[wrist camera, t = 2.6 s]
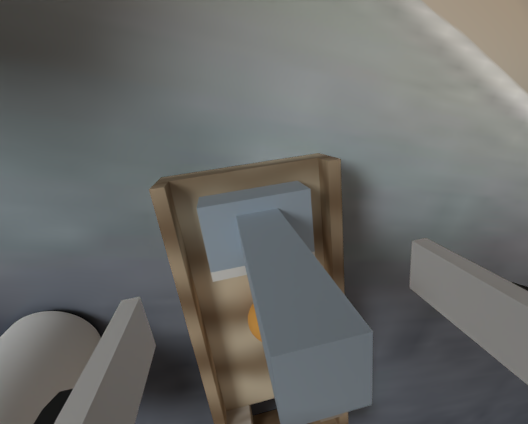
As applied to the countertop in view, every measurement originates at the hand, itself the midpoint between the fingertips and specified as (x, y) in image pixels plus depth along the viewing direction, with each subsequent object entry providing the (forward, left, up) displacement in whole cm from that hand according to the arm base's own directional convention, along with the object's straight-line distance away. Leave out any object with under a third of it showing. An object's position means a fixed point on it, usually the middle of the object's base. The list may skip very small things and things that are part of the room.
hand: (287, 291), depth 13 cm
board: (+12, 0, -13) cm, 17 cm away
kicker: (0, 0, -10) cm, 10 cm away
